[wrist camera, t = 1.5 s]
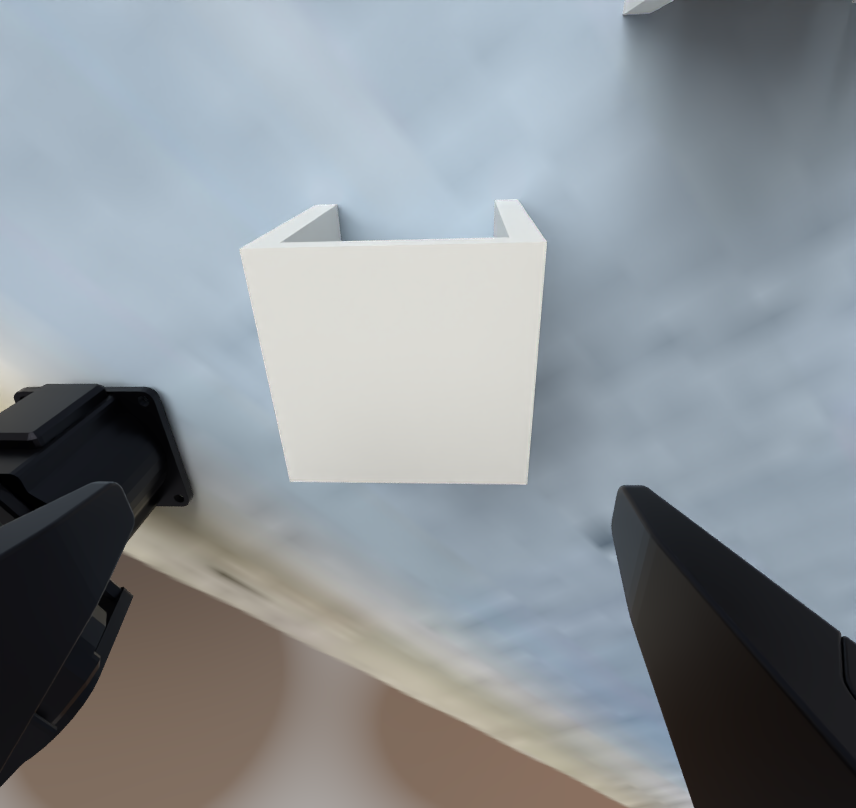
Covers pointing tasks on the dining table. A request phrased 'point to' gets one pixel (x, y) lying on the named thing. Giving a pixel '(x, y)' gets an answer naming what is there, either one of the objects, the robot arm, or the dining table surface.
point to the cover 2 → (647, 6)
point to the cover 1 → (400, 349)
